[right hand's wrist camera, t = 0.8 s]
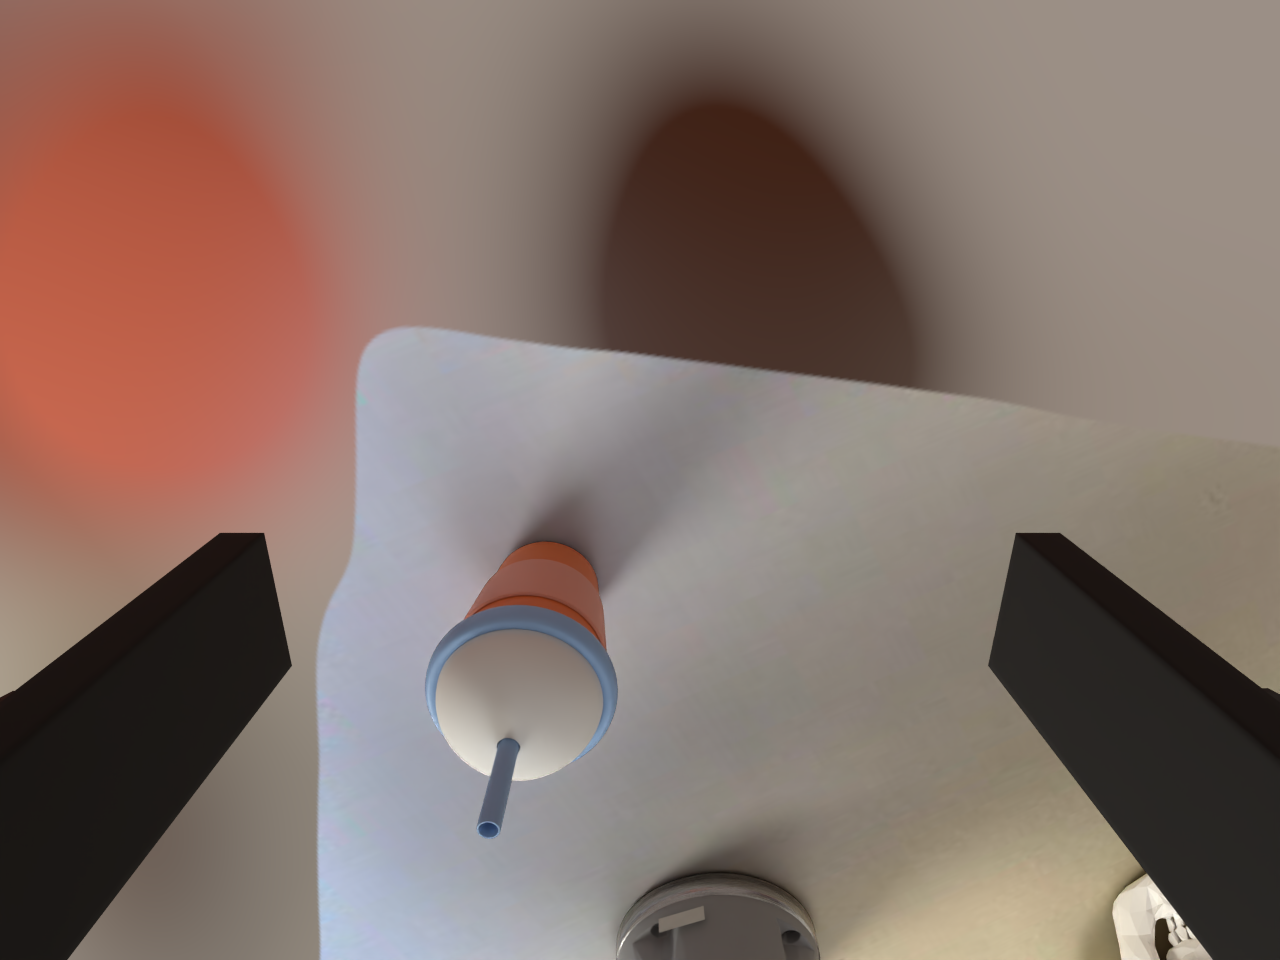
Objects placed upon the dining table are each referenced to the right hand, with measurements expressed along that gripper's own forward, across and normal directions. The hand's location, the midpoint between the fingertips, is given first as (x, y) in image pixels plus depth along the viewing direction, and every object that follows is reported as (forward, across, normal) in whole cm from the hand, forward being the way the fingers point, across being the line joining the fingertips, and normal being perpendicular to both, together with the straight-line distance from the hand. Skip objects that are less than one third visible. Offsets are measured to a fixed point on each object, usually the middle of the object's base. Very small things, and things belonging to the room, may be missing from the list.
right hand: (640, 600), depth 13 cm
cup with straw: (+27, +6, +15) cm, 31 cm away
